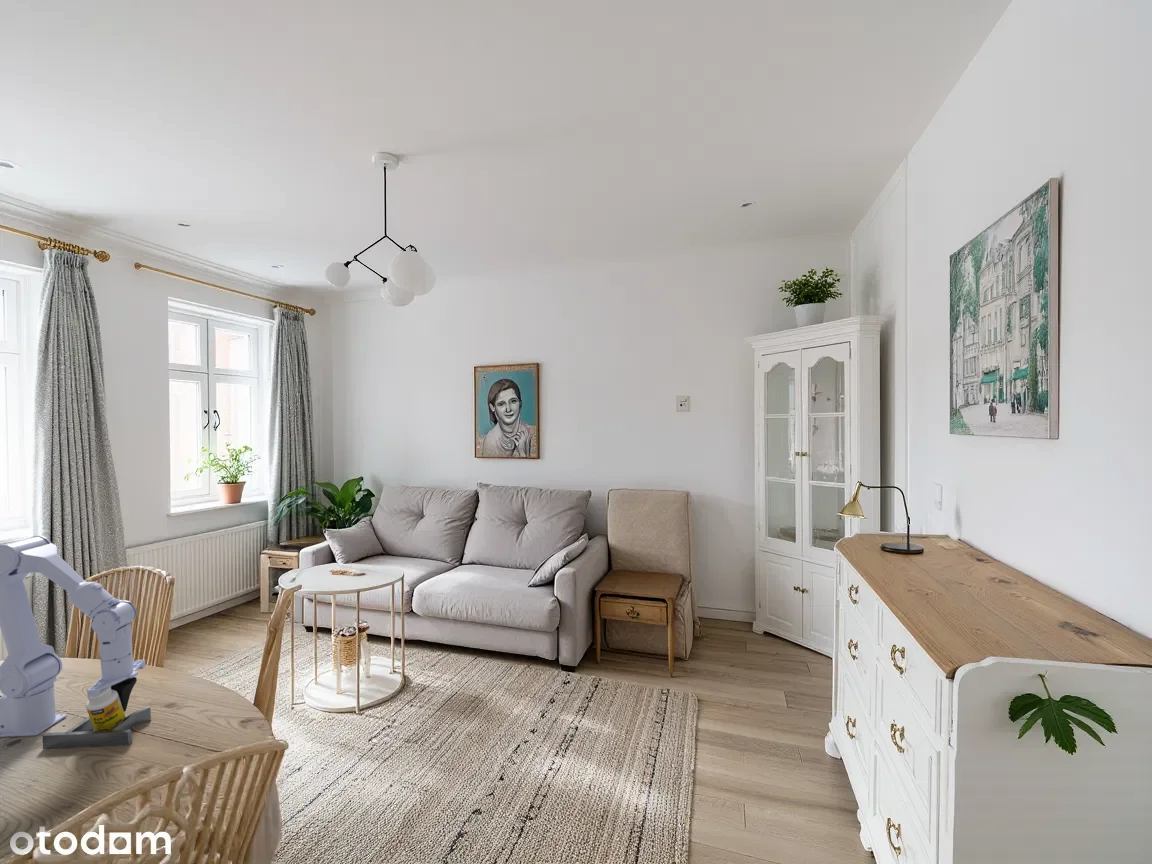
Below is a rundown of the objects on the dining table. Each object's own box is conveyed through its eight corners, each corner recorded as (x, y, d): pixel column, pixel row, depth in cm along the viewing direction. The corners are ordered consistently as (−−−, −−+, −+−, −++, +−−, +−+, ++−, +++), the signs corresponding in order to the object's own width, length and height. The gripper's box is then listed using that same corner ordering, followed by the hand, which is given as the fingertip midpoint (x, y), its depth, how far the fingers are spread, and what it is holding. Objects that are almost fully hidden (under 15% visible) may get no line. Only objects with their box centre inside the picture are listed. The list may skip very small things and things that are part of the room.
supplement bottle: (94, 740, 121) (81, 705, 117) (96, 723, 125) (83, 689, 121) (126, 728, 124) (114, 693, 120) (127, 712, 128) (115, 678, 125)
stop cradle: (43, 749, 117) (42, 735, 117) (84, 721, 128) (84, 708, 128) (128, 745, 118) (127, 732, 118) (163, 717, 129) (162, 705, 128)
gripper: (109, 670, 119) (112, 729, 120) (156, 641, 134) (159, 694, 134) (76, 671, 119) (79, 731, 120) (127, 642, 133) (130, 696, 134)
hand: (120, 712), depth 127 cm, fingers closed
